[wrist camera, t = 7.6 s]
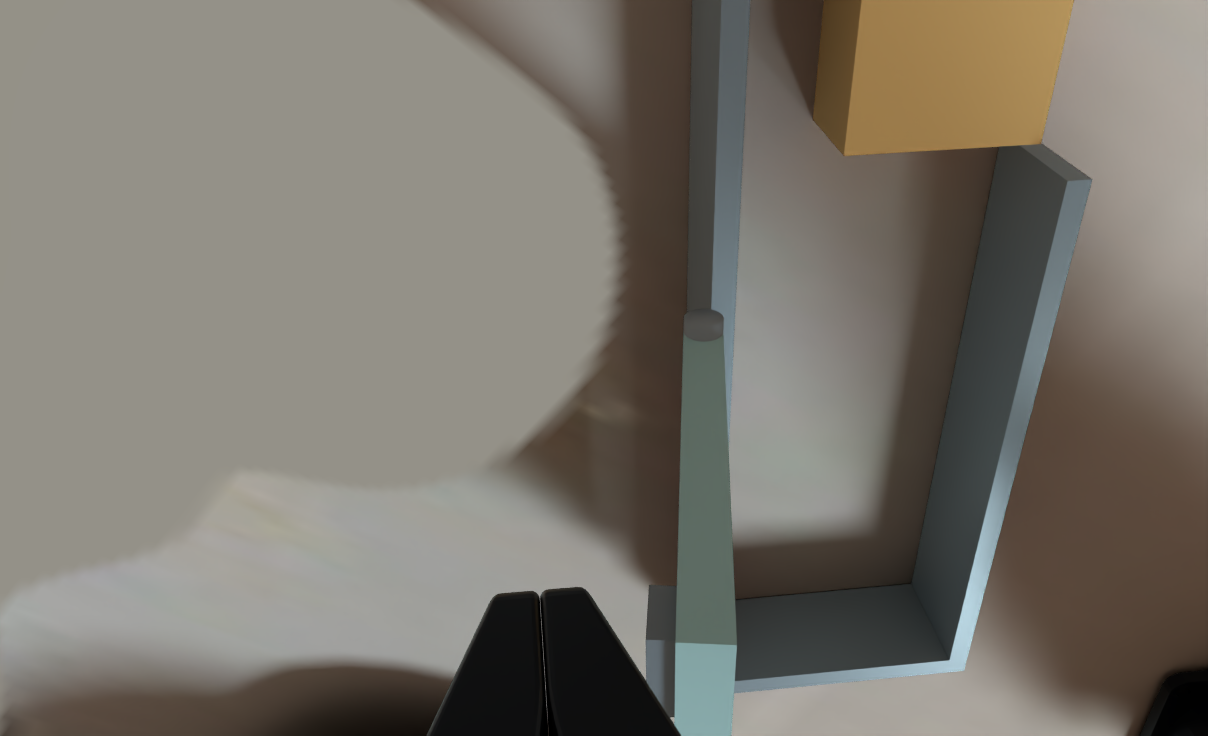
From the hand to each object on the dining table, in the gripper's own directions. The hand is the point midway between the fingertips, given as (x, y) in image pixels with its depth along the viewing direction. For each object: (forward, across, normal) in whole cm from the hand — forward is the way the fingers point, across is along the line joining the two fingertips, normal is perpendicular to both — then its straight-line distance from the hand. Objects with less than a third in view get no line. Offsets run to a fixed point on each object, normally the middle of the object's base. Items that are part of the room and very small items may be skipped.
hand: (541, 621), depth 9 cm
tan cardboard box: (+14, -8, -2) cm, 16 cm away
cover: (+6, -3, +9) cm, 11 cm away
